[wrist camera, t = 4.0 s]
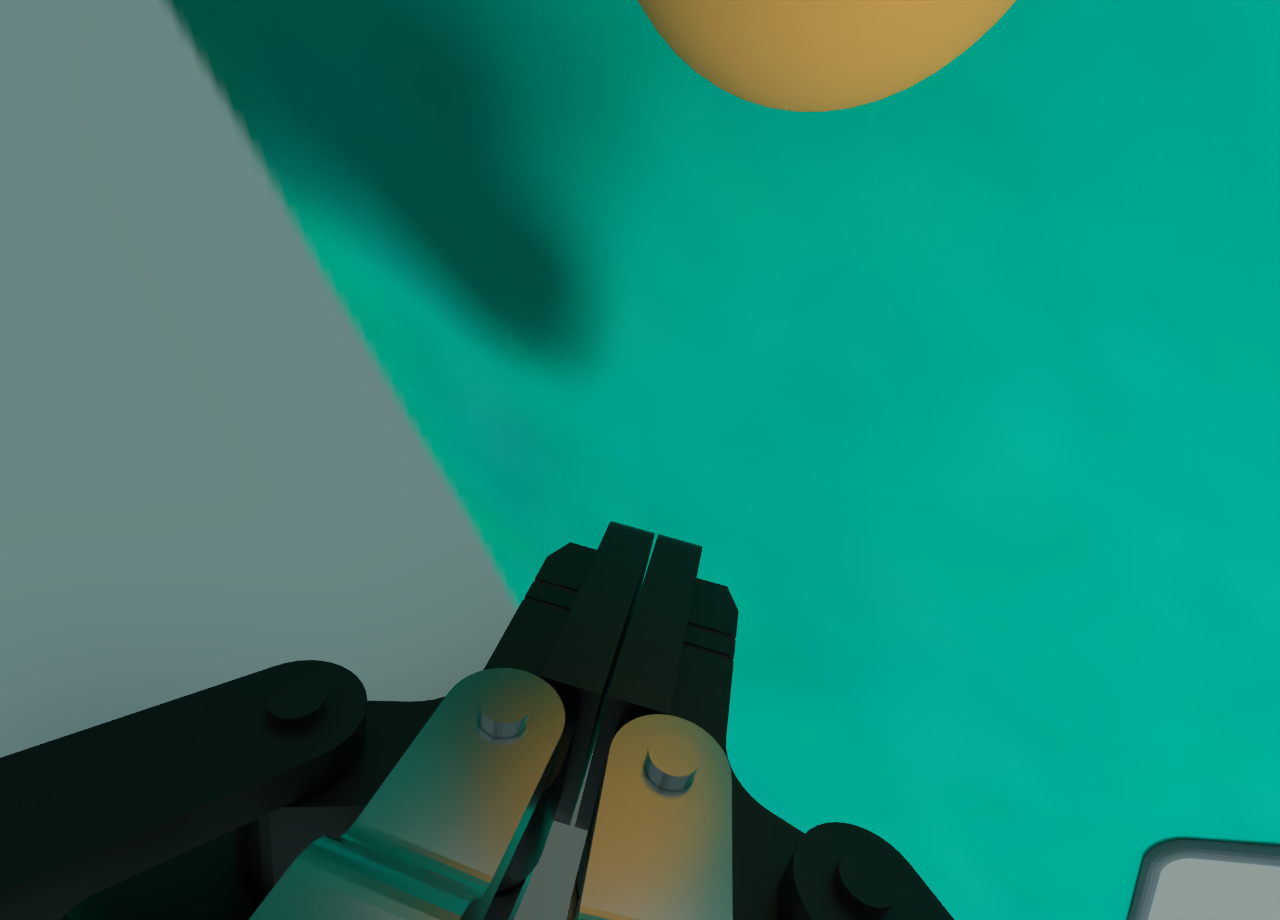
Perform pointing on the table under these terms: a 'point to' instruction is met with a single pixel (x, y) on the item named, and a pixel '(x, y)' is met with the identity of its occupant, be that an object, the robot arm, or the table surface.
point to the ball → (820, 45)
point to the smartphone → (1208, 882)
